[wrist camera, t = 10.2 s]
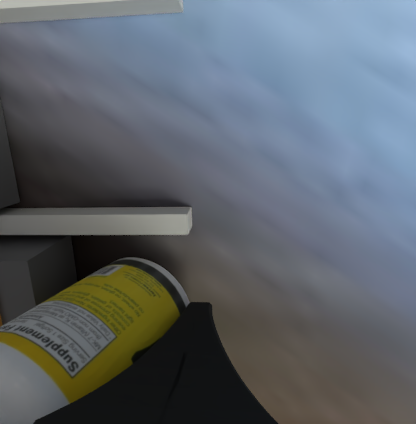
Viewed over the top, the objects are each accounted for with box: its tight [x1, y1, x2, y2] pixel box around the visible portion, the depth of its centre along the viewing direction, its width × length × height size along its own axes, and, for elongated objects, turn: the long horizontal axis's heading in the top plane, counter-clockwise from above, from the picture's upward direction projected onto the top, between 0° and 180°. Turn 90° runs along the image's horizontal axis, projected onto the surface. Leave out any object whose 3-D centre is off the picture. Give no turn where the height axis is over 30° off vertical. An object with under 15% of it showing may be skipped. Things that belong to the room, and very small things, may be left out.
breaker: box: [0, 235, 78, 327], centre depth 12 cm, size 6×4×3 cm, turn 2°
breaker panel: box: [0, 0, 192, 235], centre depth 12 cm, size 16×14×2 cm
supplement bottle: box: [0, 257, 190, 424], centre depth 9 cm, size 5×5×8 cm
